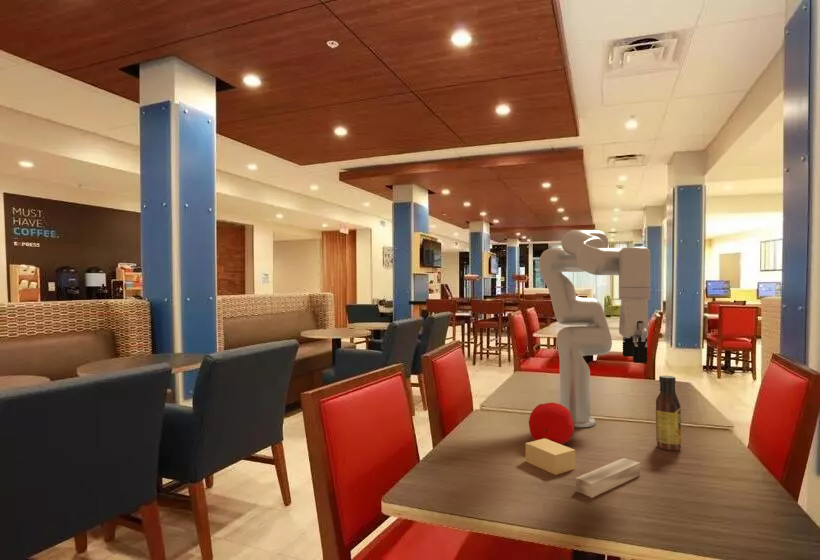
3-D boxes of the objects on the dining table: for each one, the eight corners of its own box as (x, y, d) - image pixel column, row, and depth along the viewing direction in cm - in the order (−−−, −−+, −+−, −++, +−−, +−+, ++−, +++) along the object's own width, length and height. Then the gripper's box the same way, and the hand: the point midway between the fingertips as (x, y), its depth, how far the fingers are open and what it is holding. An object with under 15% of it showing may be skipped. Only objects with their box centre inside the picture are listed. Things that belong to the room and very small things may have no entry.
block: (525, 462, 123) (525, 443, 123) (544, 457, 127) (544, 438, 127) (555, 475, 115) (555, 455, 115) (575, 469, 118) (575, 449, 118)
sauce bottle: (684, 452, 129) (684, 379, 129) (660, 451, 130) (659, 378, 130) (676, 444, 136) (676, 374, 136) (652, 443, 137) (652, 374, 137)
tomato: (548, 462, 130) (565, 449, 141) (574, 428, 126) (589, 418, 137) (513, 429, 137) (531, 419, 148) (536, 396, 133) (554, 388, 144)
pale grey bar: (575, 491, 105) (575, 477, 106) (624, 469, 117) (624, 457, 117) (592, 497, 102) (592, 484, 102) (639, 475, 114) (639, 462, 114)
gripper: (611, 293, 134) (611, 353, 134) (628, 295, 117) (628, 364, 117) (639, 293, 132) (639, 354, 132) (661, 295, 115) (661, 365, 115)
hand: (634, 359), depth 125 cm, fingers open, 9 cm apart
